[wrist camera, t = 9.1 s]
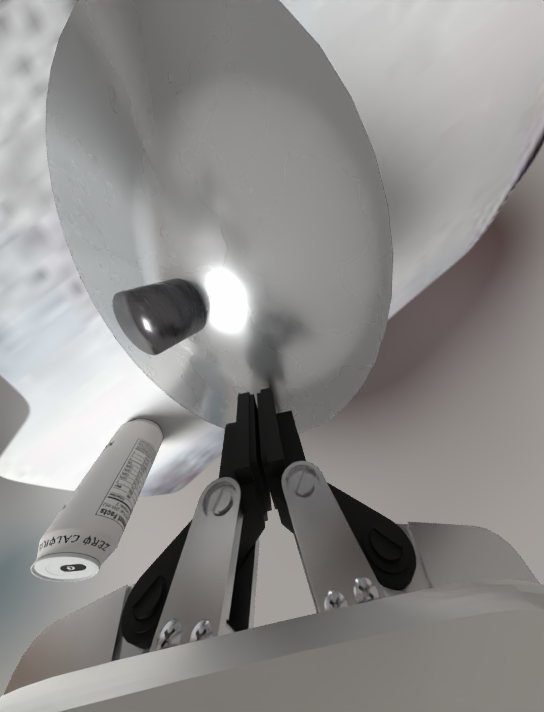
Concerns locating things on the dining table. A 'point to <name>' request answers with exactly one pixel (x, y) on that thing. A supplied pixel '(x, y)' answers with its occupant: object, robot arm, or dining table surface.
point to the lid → (220, 202)
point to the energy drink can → (99, 506)
